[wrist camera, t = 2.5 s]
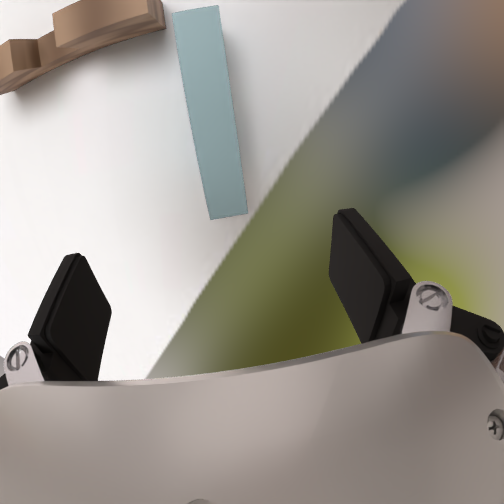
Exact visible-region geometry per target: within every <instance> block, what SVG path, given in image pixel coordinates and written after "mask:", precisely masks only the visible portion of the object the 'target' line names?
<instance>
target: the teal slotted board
mask: <svg viewBox="0 0 504 504" xmlns="http://www.w3.org/2000/svg"><path fill="white" fill-rule="evenodd" d="M172 18H173V24H174V31H175V37H176V44H177V50H178V56H179V62H180V68H181V74H182V80H183V85H184V91H185V96H186V102H187V107H188V113H189V118H190V123H191V129H192V134H193V139H194V144H195V149H196V154H197V159H198V164H199V169H200V174H201V178H202V183H203V188H204V193H205V197H206V202H207V207H208V211H209V216H210V220H214V219H219V218H225V217H230V216H236V215H242V214H247V213H248V208H247V201H246V194H245V187H244V180H243V173H242V166H241V159H240V152H239V145H238V138H237V131H236V124H235V117H234V110H233V103H232V96H231V89H230V82H229V75H228V68H227V61H226V54H225V47H224V40H223V34H222V27H221V20H220V13H219V6H218V5H216V6H209V7H203V8H197V9H191V10H186V11H181V12H176V13H172Z"/></svg>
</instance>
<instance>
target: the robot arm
mask: <svg viewBox="0 0 504 504" xmlns="http://www.w3.org/2000/svg"><path fill="white" fill-rule="evenodd" d="M329 277H330V280H331V282H332V284H333V286H334V288H335V290H336V292H337V294H338V296H339V298H340V300H341V302H342V304H343V306H344V308H345V310H346V312H347V314H348V316H349V318H350V320H351V322H352V324H353V326H354V329H355V330H356V333H357V335H358V337H359V339H360V341H361V343H362V344H359V345H355V346H351V347H347V348H343V349H338V350H334V351H330V352H326V353H322V354H317V355H312V356H308V357H303V358H298V359H294V360H289V361H283V362H279V363H273V364H268V365H262V366H256V367H249V368H244V369H237V370H230V371H223V372H215V373H207V374H199V375H190V376H180V377H169V378H156V379H141V380H120V381H98V375H99V370H100V364H101V359H102V354H103V349H104V345H105V340H106V335H107V331H108V327H109V322H110V318H111V313H112V312H111V307H110V304H109V303H108V301H107V299H106V297H105V295H104V293H103V291H102V290H101V288H100V286H99V284H98V282H97V280H96V278H95V276H94V274H93V272H92V270H91V268H90V266H89V264H88V262H87V260H86V258H85V257H84V256H82V255H81V254H80V253H75V254H70V255H66V256H65V257H64V259H63V261H62V262H61V264H60V266H59V268H58V270H57V272H56V274H55V276H54V278H53V280H52V282H51V284H50V286H49V288H48V290H47V292H46V294H45V296H44V298H43V300H42V303H41V305H40V307H39V309H38V312H37V314H36V316H35V318H34V321H33V323H32V326H31V328H30V331H29V333H28V337H29V338H30V339H31V340H32V341H31V343H30V344H29V343H27V342H23V341H22V342H19V343H17V344H15V345H14V346H13V347H11V348H10V350H9V351H8V353H7V354H6V357H5V359H4V370H5V374H4V375H3V376H1V377H0V504H504V332H503V330H502V329H501V327H500V326H499V325H497V324H496V323H495V322H493V321H491V320H489V319H487V318H484V317H481V316H479V315H476V314H474V313H471V312H468V311H466V310H463V309H460V308H458V307H455V306H452V298H451V296H450V294H449V292H448V291H447V290H446V289H445V288H444V287H443V286H441V285H440V284H437V283H435V282H430V281H422V282H419V283H417V284H416V283H415V282H414V280H413V279H412V277H411V276H410V275H409V273H408V272H407V271H406V269H405V268H404V267H403V266H402V264H401V263H400V262H399V260H398V259H397V258H396V257H395V255H394V254H393V253H392V252H391V251H390V250H389V248H388V247H387V246H386V245H385V243H384V242H383V241H382V240H381V238H380V237H379V236H378V235H377V234H376V233H375V231H374V230H373V229H372V228H371V227H370V226H369V224H368V223H367V222H366V221H365V220H364V218H363V217H362V216H361V215H360V214H359V213H358V212H357V211H356V209H354V208H350V209H342V210H339V211H338V213H337V214H335V215H334V217H333V229H332V243H331V254H330V265H329Z"/></svg>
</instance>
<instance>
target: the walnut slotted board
mask: <svg viewBox="0 0 504 504" xmlns="http://www.w3.org/2000/svg"><path fill="white" fill-rule="evenodd" d="M52 15H53V25H54V31H52V32H50V33H48V34H46V35H44V36H42V37H41V38H39V39H9V40H8V41H6V42H5V43H3V44H2V45H1V46H0V95H2V94H5V93H8V92H11V91H14V90H16V89H18V88H19V87H21V86H23V85H24V84H26V83H28V82H30V81H32V80H33V79H35V78H37V77H39V76H41V75H43V74H45V73H46V72H48V71H50V70H52V69H54V68H57V67H59V66H61V65H63V64H65V63H67V62H69V61H72V60H74V59H76V58H78V57H81V56H83V55H86V54H88V53H91V52H93V51H96V50H98V49H101V48H104V47H106V46H109V45H112V44H115V43H118V42H121V41H124V40H127V39H130V38H133V37H137V36H140V35H144V34H147V33H151V32H155V31H159V30H163V29H166V25H165V18H164V12H163V5H162V2H161V0H80V1H78V2H76V3H73V4H71V5H69V6H67V7H65V8H63V9H61V10H59V11H57V12H55V13H53V14H52Z"/></svg>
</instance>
